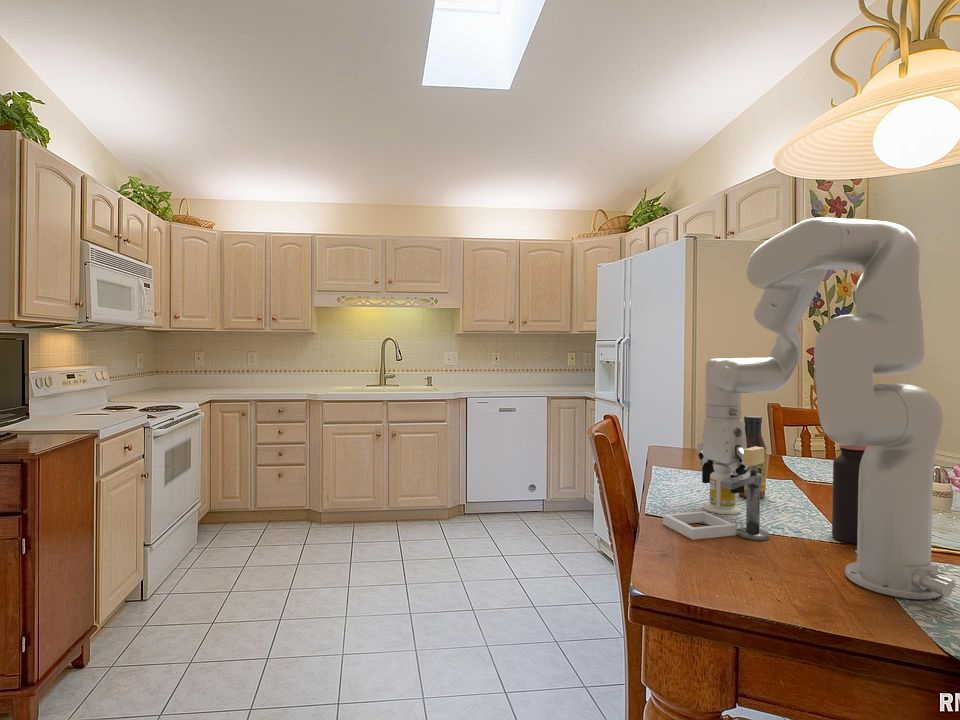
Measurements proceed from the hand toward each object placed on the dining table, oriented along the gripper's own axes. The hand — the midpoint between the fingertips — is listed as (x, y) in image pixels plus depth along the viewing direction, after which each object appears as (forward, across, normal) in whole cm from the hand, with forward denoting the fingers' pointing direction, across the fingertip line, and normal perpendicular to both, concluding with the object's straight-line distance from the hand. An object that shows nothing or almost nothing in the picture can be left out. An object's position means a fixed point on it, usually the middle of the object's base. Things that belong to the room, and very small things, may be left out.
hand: (722, 487), depth 132 cm
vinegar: (+6, -24, -11) cm, 27 cm away
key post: (+5, -17, +6) cm, 19 cm away
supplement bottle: (+4, 0, 0) cm, 5 cm away
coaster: (+5, 0, 0) cm, 5 cm away
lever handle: (-5, -19, +10) cm, 22 cm away
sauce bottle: (+5, +8, -15) cm, 18 cm away
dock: (+5, -11, +14) cm, 18 cm away
